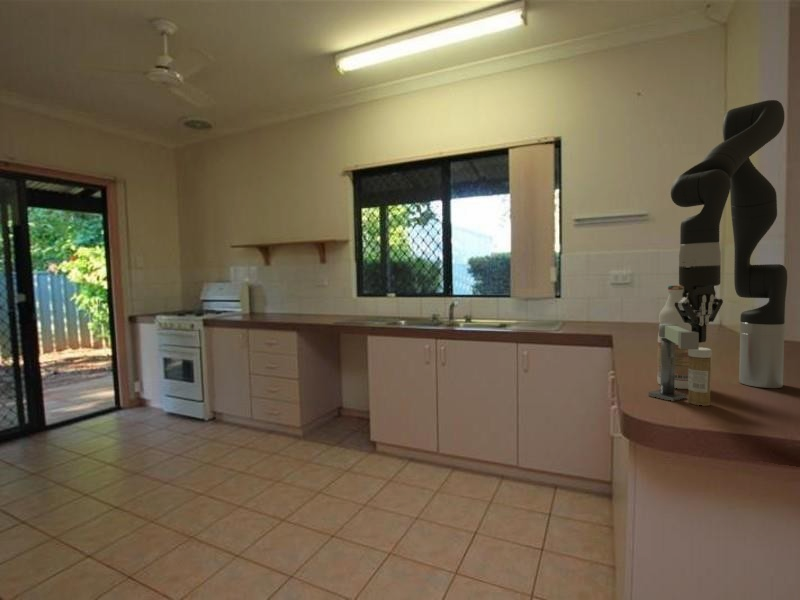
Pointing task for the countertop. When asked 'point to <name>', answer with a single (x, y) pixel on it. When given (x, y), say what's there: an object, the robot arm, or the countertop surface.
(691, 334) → the swing bar
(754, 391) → the countertop surface
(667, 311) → the fruit juice
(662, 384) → the post
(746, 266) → the robot arm
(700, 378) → the sprinkles bottle
